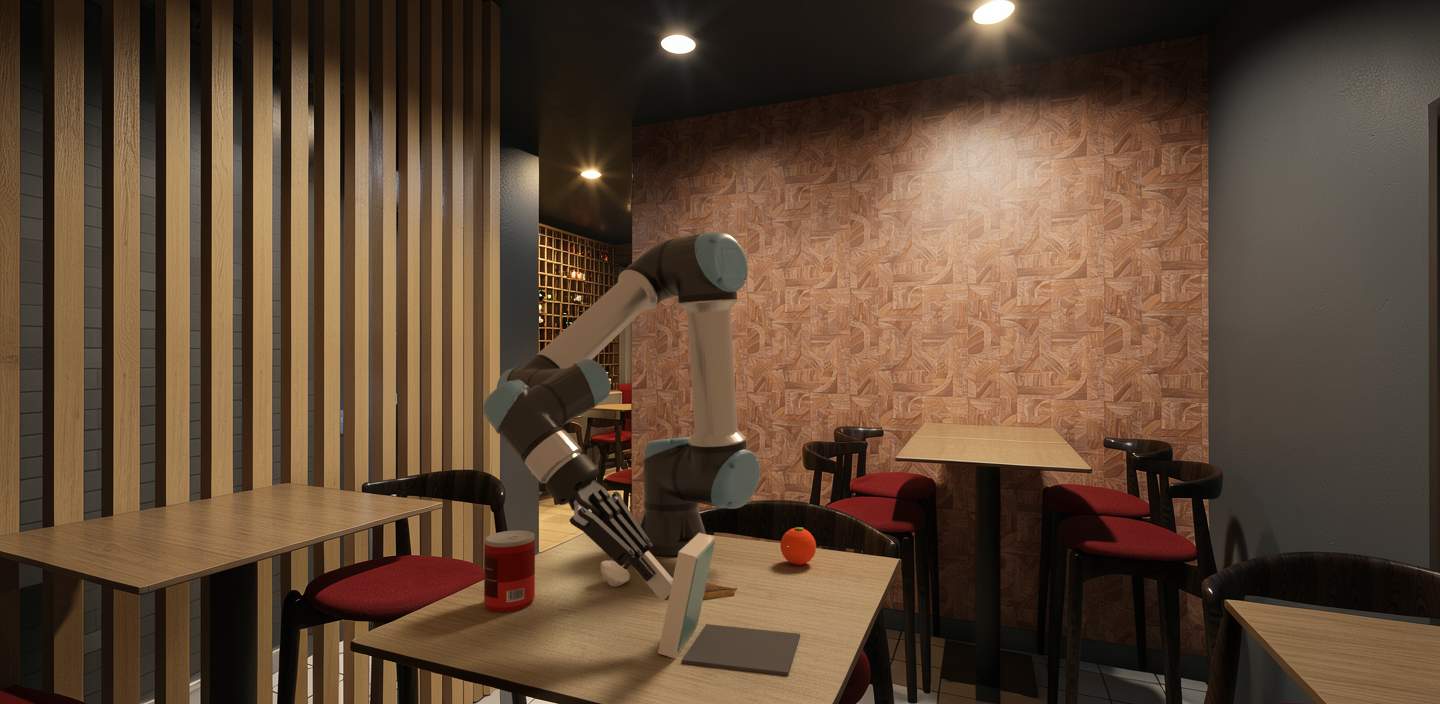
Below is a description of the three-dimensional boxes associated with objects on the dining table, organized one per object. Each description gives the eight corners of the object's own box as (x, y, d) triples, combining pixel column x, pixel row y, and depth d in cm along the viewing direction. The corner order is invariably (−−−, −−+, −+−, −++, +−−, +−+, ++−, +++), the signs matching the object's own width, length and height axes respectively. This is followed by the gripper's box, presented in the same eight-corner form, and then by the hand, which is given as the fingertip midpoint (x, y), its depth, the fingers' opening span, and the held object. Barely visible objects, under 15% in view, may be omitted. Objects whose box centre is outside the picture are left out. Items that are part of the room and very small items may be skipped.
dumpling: (598, 580, 118) (598, 558, 118) (627, 577, 119) (627, 555, 119) (603, 593, 111) (603, 569, 111) (633, 590, 113) (633, 567, 113)
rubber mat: (706, 626, 97) (706, 624, 97) (800, 636, 93) (800, 633, 93) (682, 663, 85) (682, 659, 85) (788, 675, 82) (788, 672, 82)
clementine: (785, 555, 132) (785, 520, 132) (819, 559, 130) (819, 523, 130) (776, 567, 125) (776, 530, 125) (812, 571, 123) (812, 533, 123)
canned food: (543, 597, 109) (543, 531, 109) (516, 615, 101) (516, 544, 101) (503, 593, 111) (503, 528, 111) (473, 610, 103) (474, 541, 103)
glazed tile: (680, 623, 97) (699, 532, 96) (697, 629, 96) (716, 537, 96) (657, 652, 87) (678, 551, 86) (676, 659, 86) (697, 557, 86)
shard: (737, 597, 110) (737, 586, 110) (716, 612, 104) (716, 601, 104) (682, 586, 115) (682, 576, 115) (659, 600, 109) (659, 589, 109)
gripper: (568, 478, 103) (667, 594, 98) (523, 494, 90) (635, 628, 86) (599, 446, 101) (701, 562, 97) (558, 458, 89) (673, 592, 84)
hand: (670, 593), depth 91 cm, fingers closed
